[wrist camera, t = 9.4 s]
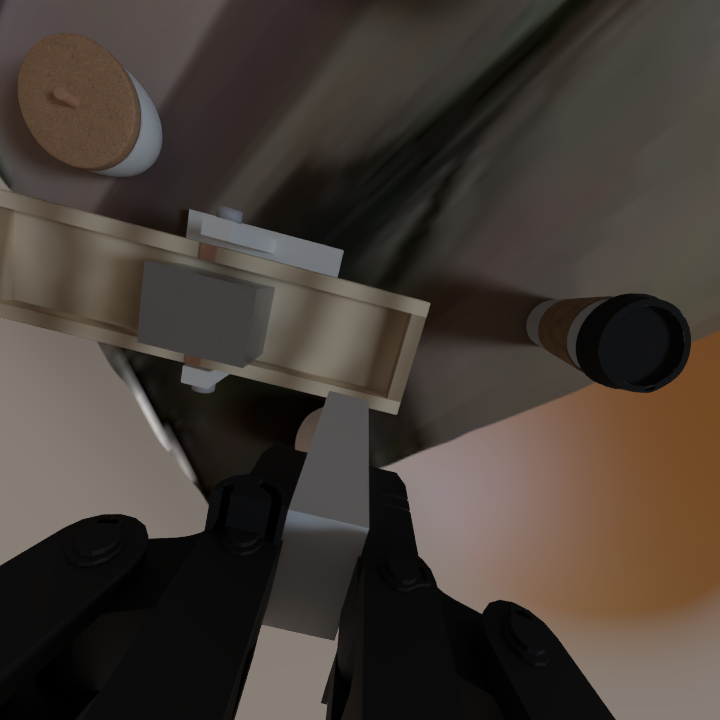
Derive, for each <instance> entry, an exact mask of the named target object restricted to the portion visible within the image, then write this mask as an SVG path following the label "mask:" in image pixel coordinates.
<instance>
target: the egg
mask: <svg viewBox="0 0 720 720" xmlns="http://www.w3.org/2000/svg"><path fill="white" fill-rule="evenodd" d="M322 410H323V407H322V408H319V409H317V410H315V411H314V412H312V413H311V414H309V415H308V416H307V417H306V418H305V420H304V421H303V422H302V424H301V426H300V428H299V430H298V433H297V436H296V442H295V450H299V451H303V452H307V453H308V451H309V448H310V445H311V442H312V439H313V436H314V434H315V431H316V428H317V425H318V422H319V419H320V416H321V413H322Z"/></svg>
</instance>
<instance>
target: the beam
mask: <svg viewBox="0 0 720 720" xmlns="http://www.w3.org/2000/svg"><path fill="white" fill-rule="evenodd" d="M144 261H157V262H169V263H181V264H186V265H190V266H194V267H197V268H201V269H205V270H209V271H213V272H217V273H221V274H225V275H229V276H232V277H236V278H240V279H244V280H248V281H252V282H256V283H260V284H263V285H267V286H271V287H275V291H274V297H273V302H272V307H271V313H270V318H269V323H268V328H267V334H266V339H265V344H264V350H263V354H262V355H260V356H259V357H258V358H256V359H255V360H254V361H252V362H251V363H250V364H248V365H247V366H246V367H244V368H240V367H236V366H232V365H228V364H223V363H219V362H215V361H211V360H207V359H203V358H199V357H195V356H191V355H187V354H183V353H179V352H174V351H170V350H166V349H162V348H158V347H154V346H150V345H146V344H142V343H138V342H137V334H138V324H139V313H140V303H141V292H142V281H143V271H144ZM430 304H431V303H429V302H426V301H423V300H420V299H416V298H412V297H409V296H405V295H401V294H397V293H393V292H390V291H386V290H382V289H378V288H375V287H371V286H367V285H363V284H359V283H356V282H352V281H348V280H344V279H340V278H337V277H333V276H329V275H325V274H321V273H318V272H314V271H310V270H306V269H303V268H299V267H295V266H291V265H287V264H284V263H280V262H276V261H272V260H268V259H265V258H261V257H257V256H253V255H249V254H246V253H242V252H238V251H234V250H230V249H227V248H223V247H219V246H215V245H212V244H208V243H204V242H200V241H196V240H193V239H189V238H185V237H181V236H177V235H174V234H170V233H166V232H162V231H158V230H155V229H151V228H147V227H143V226H140V225H136V224H132V223H128V222H124V221H121V220H117V219H113V218H109V217H105V216H102V215H98V214H94V213H90V212H86V211H83V210H79V209H75V208H71V207H68V206H64V205H60V204H56V203H52V202H49V201H45V200H41V199H37V198H33V197H30V196H26V195H22V194H18V193H14V192H10V191H6V190H1V189H0V317H1V318H5V319H9V320H13V321H17V322H21V323H26V324H29V325H33V326H37V327H42V328H46V329H50V330H54V331H58V332H62V333H66V334H70V335H74V336H78V337H82V338H86V339H91V340H94V341H98V342H103V343H107V344H111V345H115V346H119V347H123V348H127V349H131V350H135V351H139V352H143V353H147V354H151V355H155V356H159V357H164V358H168V359H172V360H176V361H180V362H184V363H185V364H188V365H193V366H197V367H204V368H208V369H212V370H216V371H221V372H225V373H229V374H233V375H237V376H241V377H245V378H249V379H253V380H257V381H261V382H265V383H269V384H273V385H277V386H282V387H286V388H290V389H294V390H298V391H302V392H306V393H310V394H314V395H318V396H322V397H326V398H327V396H328V393H329V391H333V392H337V393H341V394H345V395H349V396H353V397H357V398H361V399H365V400H368V408H371V409H375V410H379V411H383V412H387V413H391V414H395V415H397V412H398V409H399V406H400V402H401V399H402V396H403V393H404V389H405V386H406V383H407V379H408V376H409V373H410V370H411V366H412V363H413V360H414V356H415V353H416V350H417V347H418V343H419V340H420V337H421V333H422V330H423V327H424V324H425V320H426V317H427V314H428V310H429V307H430Z"/></svg>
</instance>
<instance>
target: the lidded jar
mask: <svg viewBox="0 0 720 720" xmlns="http://www.w3.org/2000/svg"><path fill="white" fill-rule="evenodd" d="M18 100H19V104H20V109H21V112H22V115H23V118H24V120H25V122H26V124H27V126H28V128H29V130H30V132H31V133H32V135H33V136H34V138H35V139H36V140H37V142H38V143H39V144H40V145H41V146H42V147H43V148H44V149H45V150H46V151H47V152H48V153H49V154H50V155H52V156H53V157H54V158H56V159H57V160H59V161H61V162H63V163H65V164H67V165H70V166H73V167H75V168H78V169H82V170H87V171H89V172H92V173H95V174H99V175H104V176H109V177H130V176H135V175H138V174H141V173H143V172H144V171H146V170H147V169H148V168H150V167H151V166H152V165H153V164H154V162H155V161H156V159H157V158H158V156H159V153H160V150H161V146H162V128H161V123H160V119H159V116H158V113H157V111H156V108H155V106H154V104H153V102H152V101H151V99H150V97H149V96H148V94H147V93H146V91H145V90H144V89H143V87H142V86H141V85H140V84H139V82H138V81H137V80H136V79H135V78H134V77H133V76H132V75H131V74H130V73H129V72H128V71H127V70H126V69H125V68H124V67H123V66H122V65H121V64H120V63H119V62H118V61H117V59H116V58H115V57H114V56H113V55H112V54H111V53H109V52H108V51H107V50H106V49H104V48H103V47H102V46H101V45H99V44H98V43H96V42H94V41H93V40H91V39H89V38H86V37H83V36H81V35H76V34H71V33H61V34H55V35H50V36H48V37H46V38H44V39H42V40H40V41H39V42H37V43H36V44H35V45H34V46H33V47H32V48H31V49H30V50H29V52H28V53H27V55H26V56H25V58H24V60H23V62H22V65H21V68H20V72H19V76H18Z"/></svg>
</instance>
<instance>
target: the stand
mask: <svg viewBox="0 0 720 720" xmlns="http://www.w3.org/2000/svg"><path fill="white" fill-rule="evenodd" d="M242 216H243V213H242V212H240V211H237V210H234V209H231V208H228V207H224V206H219V205H218V207H217V214H216V216H213V215H209V214H205V213H202V212H198V211H194V210H191V209H189V217H188V225H187V233H186V238H189V239H193V240H196V241H200V242H204V243H208V244H212V245H215V246H219V247H223V248H227V249H230V250H234V251H238V252H242V253H246V254H249V255H253V256H257V257H261V258H265V259H268V260H272V261H276V262H280V263H284V264H287V265H291V266H295V267H299V268H303V269H306V270H310V271H314V272H318V273H321V274H325V275H329V276H333V277H337V278H338V274H339V269H340V265H341V261H342V256H343V252H344V251H343V250H340V249H336V248H333V247H329V246H325V245H321V244H318V243H314V242H310V241H306V240H303V239H299V238H295V237H292V236H288V235H284V234H280V233H277V232H273V231H269V230H265V229H262V228H258V227H254V226H250V225H247V224H243V223H242ZM227 375H229V373H225V372H221V371H216V370H212V369H208V368H204V367H197V366H193V365H188V364H185V365H183V370H182V378H181V382H182V383H186V384H190V385H192V390H194V391H196V392H200V393H211V392H213V391H214V390H215V385H216V383H217V382H218V381H220V380H221V379H223V378H224V377H226V376H227Z"/></svg>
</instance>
